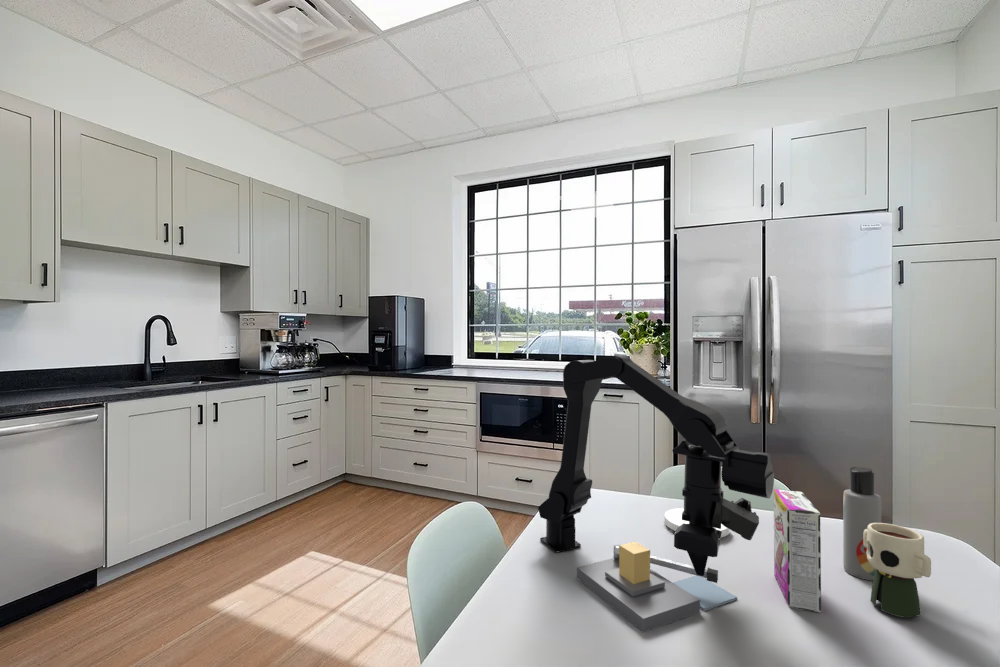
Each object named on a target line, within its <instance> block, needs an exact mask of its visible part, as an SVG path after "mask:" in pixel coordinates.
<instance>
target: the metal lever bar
mask: <svg viewBox="0 0 1000 667" xmlns="http://www.w3.org/2000/svg"><path fill="white" fill-rule="evenodd" d="M620 545H621V544H614V545H613V558H614V559H615V560H618V561H619V548H620ZM650 564H652V565H657V566H660V567H662V568H663V567H664V568H666V569H667V568H668V569H670V570H675V571H677V572H681V573H687V574H689V575H694V576H696V575H697V574H696V572H695V569H694V567H693V565H690V564H686V563H683V562H679V561H675V560H671V559H668V558H663V557H659V556H655V555H652V554H650ZM697 576H700V575H697ZM700 577H703V578H705V579H707V581H710V582H712V583H714V584H718V581H719V570H718V569H714V568H709V567H707V569H706V568H705V572H704V576H700Z"/></svg>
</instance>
